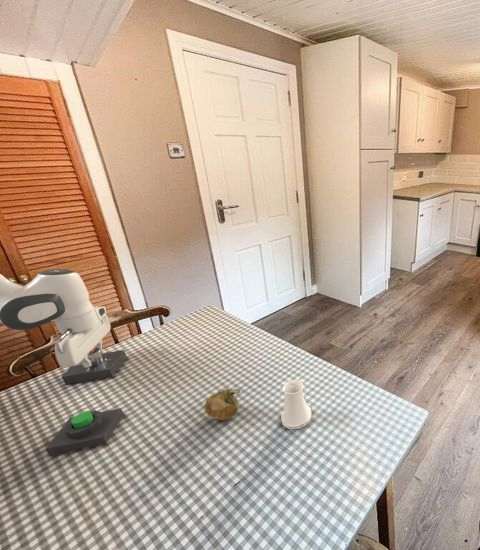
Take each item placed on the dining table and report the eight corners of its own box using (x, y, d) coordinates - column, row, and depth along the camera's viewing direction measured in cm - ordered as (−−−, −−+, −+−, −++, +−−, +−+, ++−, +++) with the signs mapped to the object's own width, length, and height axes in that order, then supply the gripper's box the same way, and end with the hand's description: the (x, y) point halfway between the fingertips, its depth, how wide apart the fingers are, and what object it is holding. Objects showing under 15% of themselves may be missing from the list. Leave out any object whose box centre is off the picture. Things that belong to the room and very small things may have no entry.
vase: (317, 412, 79) (314, 382, 76) (298, 434, 73) (294, 402, 69) (295, 402, 83) (291, 372, 79) (275, 422, 76) (270, 391, 73)
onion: (223, 400, 83) (217, 377, 80) (247, 408, 81) (242, 384, 78) (201, 421, 77) (194, 397, 74) (226, 430, 74) (220, 405, 71)
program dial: (99, 365, 93) (94, 353, 91) (82, 368, 91) (77, 356, 90) (106, 356, 96) (102, 345, 95) (90, 359, 95) (85, 347, 94)
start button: (70, 430, 70) (67, 424, 69) (79, 418, 73) (76, 412, 73) (88, 426, 71) (86, 421, 70) (96, 415, 74) (94, 409, 74)
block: (49, 455, 68) (41, 443, 67) (72, 424, 76) (66, 412, 75) (106, 443, 71) (100, 431, 69) (123, 414, 79) (118, 402, 77)
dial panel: (65, 384, 89) (61, 376, 88) (84, 363, 98) (80, 355, 97) (112, 377, 92) (109, 368, 91) (127, 357, 101) (124, 349, 100)
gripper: (68, 338, 80) (87, 380, 85) (107, 304, 98) (121, 340, 103) (39, 342, 78) (60, 384, 84) (84, 307, 97) (99, 343, 102)
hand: (94, 360), depth 94 cm, fingers closed on program dial, 4 cm apart
